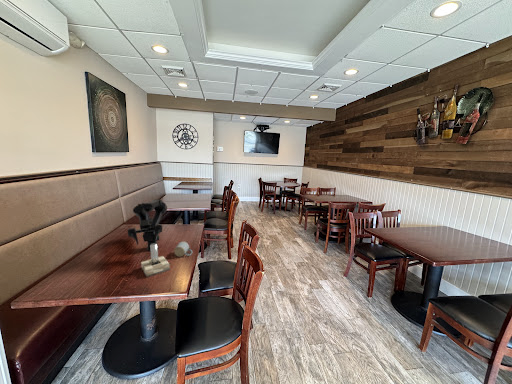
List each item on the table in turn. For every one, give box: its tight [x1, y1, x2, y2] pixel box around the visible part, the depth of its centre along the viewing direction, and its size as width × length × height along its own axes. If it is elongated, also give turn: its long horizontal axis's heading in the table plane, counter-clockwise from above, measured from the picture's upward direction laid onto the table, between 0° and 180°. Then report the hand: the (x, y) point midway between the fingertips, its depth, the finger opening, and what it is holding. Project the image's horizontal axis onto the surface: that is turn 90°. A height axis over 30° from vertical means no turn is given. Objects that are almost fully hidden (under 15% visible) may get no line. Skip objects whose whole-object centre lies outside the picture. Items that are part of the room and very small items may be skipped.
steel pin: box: [150, 243, 159, 266], centre depth 119 cm, size 4×4×14 cm
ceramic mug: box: [173, 241, 193, 257], centre depth 138 cm, size 11×8×8 cm
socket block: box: [140, 255, 171, 278], centre depth 120 cm, size 12×12×4 cm
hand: (146, 243), depth 125 cm, fingers open, 9 cm apart
